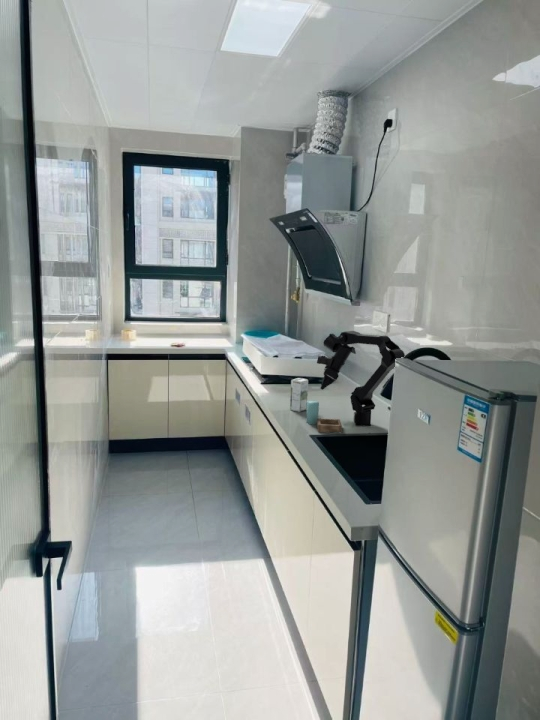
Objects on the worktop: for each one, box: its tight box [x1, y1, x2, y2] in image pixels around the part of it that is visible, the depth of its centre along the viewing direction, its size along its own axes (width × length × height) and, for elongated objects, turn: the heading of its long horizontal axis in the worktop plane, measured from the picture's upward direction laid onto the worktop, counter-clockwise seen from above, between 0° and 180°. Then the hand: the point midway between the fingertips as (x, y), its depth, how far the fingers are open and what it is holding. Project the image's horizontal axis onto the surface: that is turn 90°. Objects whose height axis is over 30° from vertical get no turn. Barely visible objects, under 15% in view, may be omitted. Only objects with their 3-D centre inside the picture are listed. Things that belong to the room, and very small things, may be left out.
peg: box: [305, 400, 320, 425], centre depth 236 cm, size 5×5×9 cm
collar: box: [316, 418, 343, 433], centre depth 228 cm, size 9×9×3 cm
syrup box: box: [289, 377, 309, 413], centre depth 256 cm, size 6×6×14 cm
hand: (321, 387), depth 244 cm, fingers open, 9 cm apart
